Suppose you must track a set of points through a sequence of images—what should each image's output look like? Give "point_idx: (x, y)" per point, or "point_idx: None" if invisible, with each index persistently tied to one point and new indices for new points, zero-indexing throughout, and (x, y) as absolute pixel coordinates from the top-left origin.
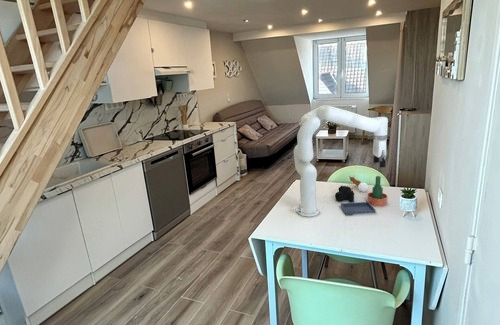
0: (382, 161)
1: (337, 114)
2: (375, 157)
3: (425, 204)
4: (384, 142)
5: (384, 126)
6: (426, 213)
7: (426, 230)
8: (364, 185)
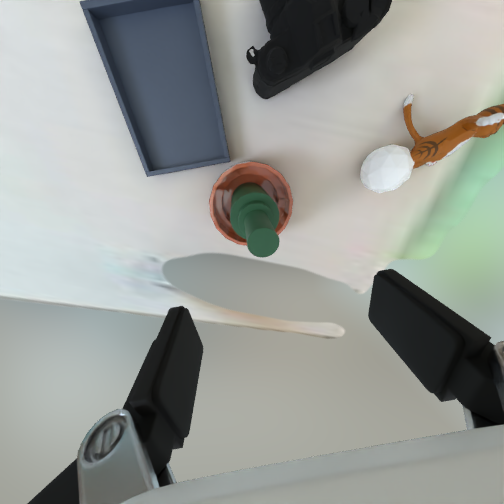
0: (123, 420)
1: None
2: (444, 348)
3: (244, 321)
4: None
5: None
6: None
7: (76, 291)
8: (379, 173)
